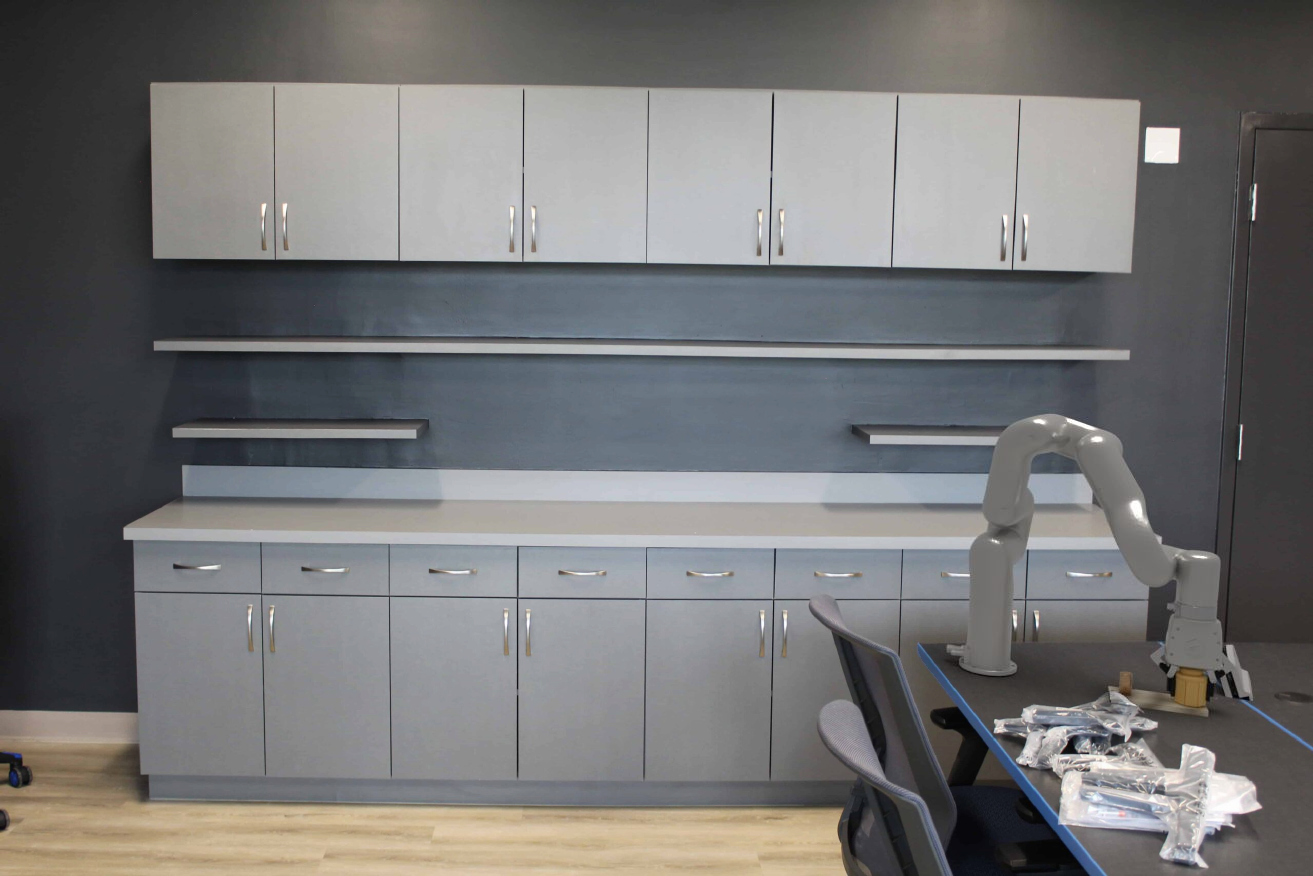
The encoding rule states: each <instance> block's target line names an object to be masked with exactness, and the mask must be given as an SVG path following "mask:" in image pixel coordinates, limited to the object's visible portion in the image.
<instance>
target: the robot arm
mask: <svg viewBox="0 0 1313 876" xmlns="http://www.w3.org/2000/svg"><path fill="white" fill-rule="evenodd" d="M1049 453H1054V454H1057V455H1060V456H1063V457H1066V458H1069V459H1071V460H1074V461H1076V463H1077V465H1078V467H1079V469H1080V471H1081V473H1082V474H1083V476H1084V478H1085V480H1086V482H1087V484H1088V485H1089V487H1090V489H1091V490H1092V492H1093V494H1094V497H1096V500H1097V501H1098V503H1099V505H1100V508H1101V509H1102V510H1103V513H1104V516H1105V519H1106V522H1107V524H1108V527H1109V528H1110V532H1111V533H1112V535H1113V538H1114V542H1115V543H1116V545H1117V547H1118V549H1119V552H1120V553H1121V555H1122V557H1123V559H1124V561H1125V563H1126V564H1127V566H1128V568H1129V569H1130V571H1131V572H1132V575H1133V576H1134V578H1135V579H1136V580H1137V581H1138V582H1139V583H1140V584H1143V585H1144V586H1147V587H1149V588H1159V587H1163V586H1165V585H1167V584H1168V583H1169V582H1170V581H1172V580H1175V581H1176V591H1175V593H1176V594H1175V600H1174V601H1173V602H1170V603H1169V602H1167V607H1166V609H1167V610H1169V611H1171V612H1172V611H1173V613H1171V615H1170V617H1169V621H1168V625H1167V628H1166V629H1167V630H1166V636H1165V643H1164V644H1163V645H1161V646H1160V647H1159V648H1158V649H1157V650H1155V651H1154V652H1152V653H1151V654H1150V659H1151V660H1152V662H1154V663H1155V664H1156V666H1158V667H1159V668H1160V669H1161V670H1162V672H1163V673H1164V674H1165V675H1166V689H1165V691H1167V692H1169V693H1168V694H1170V696H1171V697H1174V696H1175V688H1176V679H1175V672H1176V670H1177V669H1179V667H1186V668H1194V669H1202V670H1204V671H1205V672H1206V674H1207V675H1208V678H1207V690H1206V703H1207V702H1208V703H1209V702H1211V698H1214V694H1215V684H1216V683H1217V681H1218V680H1221V679H1220V678H1222V677H1223V676H1224V675H1225V674H1227V673H1229V672H1230V671H1232V670H1233V669H1234V668H1235V667H1234V665H1233V664H1232V663H1231V661H1230V660H1229V659H1228V658H1227V657H1226V656H1225V655H1224V654H1223V653H1222V647H1223V629H1222V622H1221V621H1220V620H1219V619H1218V618H1217V615H1218V614H1217V613H1218V603H1219V602H1218V600H1219V599H1218V598H1219V591H1220V588H1219V587H1220V575H1221V574H1220V573H1221V559H1220V556H1218V555H1217V553H1216V554H1215V553H1214V552H1211V551H1205V550H1198V549H1197V550H1195V549H1190V550H1189V549H1188V550H1187V549H1185V548H1184V549H1183V548H1179V547H1175V546H1171V545H1167V544H1162V543H1160V541H1159V540H1158V538H1157V536H1156V534H1155V532H1154V530H1153V528H1152V526H1151V523H1150V520H1149V518H1148V514H1147V506H1146V505H1147V504H1146V498H1145V495H1144V493H1143V491H1142V489H1141V487H1140V486H1139V484H1138V482H1137V480H1136V479H1135V477H1134V475H1133V474H1132V471H1131V470H1130V469H1129V466H1128V465H1127V463H1126V461H1125V458H1124V457H1123V454H1124V447H1123V444H1122V441H1121V439H1120V438H1119V437H1118V436H1117V435H1115V434H1114V433H1113V432H1110V431H1108V430H1105V429H1101V428H1098V427H1096V426H1093V425H1089V424H1086V423H1084V422H1081V421H1078V420H1075V419H1073V418H1070V417H1066V416H1065V415H1060V414H1056V413H1045V414H1038V415H1033V416H1029V417H1027V418H1024V419H1020V420H1017V421H1016V422H1013V423H1011V424H1010V425H1008V426H1007V427H1006V428H1005V429H1004V430H1003V431H1002V433H1000V435H999V437H998V438H997V441H996V443H995V446H994V450H993V455H992V457H991V458H992V460H991V464H990V469H989V472H988V477H987V482H986V487H985V492H984V495H983V499H982V504H981V505H982V506H981V507H982V509H981V510H982V513H983V516H984V518H985V520H986V521H987V524H988V525H987V529H986V531H984V532H983V533H981V534H980V535H978V536H977V537H976V538H975V539H974V540H973V542H972V544H971V545H970V548H969V552H968V568H969V569H968V570H969V594H968V595H969V596H968V598H969V599H968V600H969V601H968V620H967V636H966V637H967V639H966V642H965V644H961V646H958V645H954V644H946V653H947V654H950V655H951V656H955V657H960V658H959V661H958V664H959V666H960V667H961V668H962V669H964V670H966V671H968V672H971V673H975V674H978V675H979V674H980V675H982V676H983V675H984V676H993V677H1002V676H1010V675H1013V674H1015V673H1016V672H1017V671H1018V670H1017V669H1018V665H1017V663H1016V662H1014V661H1012V660H1011V652H1012V651H1011V649H1012V630H1013V618H1014V617H1013V614H1014V590H1015V587H1014V583H1015V582H1014V566H1015V565H1016V564H1017V563H1019V562H1020V561H1021V560H1022V558H1023V557H1024V555H1025V553H1026V550H1027V546H1028V542H1029V537H1030V532H1031V527H1032V523H1033V519H1034V518H1033V517H1034V512H1035V499H1034V495H1033V493H1032V491H1031V489H1030V488H1029V487H1028V485H1029V482H1030V481H1029V480H1030V476H1031V470H1032V461H1033V459H1034V458H1035V457H1036V456H1038V455H1042V454H1049ZM1163 656H1164V657H1165V661H1166V662H1167V664H1166V662H1165V661H1163V660H1162V657H1163ZM1222 662H1223V663H1224V666H1223V667H1221V665H1222Z"/></svg>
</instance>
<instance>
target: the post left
mask: <svg viewBox="0 0 1313 876" xmlns="http://www.w3.org/2000/svg"><path fill="white" fill-rule="evenodd" d="M1133 676H1134V674H1133V672H1130V671H1126V670H1125V671H1124V670H1123V671H1120V672H1119V683H1118V685H1119V686H1118V687H1119V693H1121V694H1122V695H1124V696H1131V693H1132V689H1133V678H1134V677H1133Z"/></svg>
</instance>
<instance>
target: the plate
mask: <svg viewBox="0 0 1313 876" xmlns="http://www.w3.org/2000/svg"><path fill="white" fill-rule="evenodd" d="M1107 690H1108V691H1111V690H1114V691H1117V692H1119V686H1111V685H1108V687H1107ZM1108 691H1107V692H1108ZM1125 697H1126V698H1127V699H1128V700H1130V701H1131V702H1132V703H1135V704H1137V705H1138V706H1140V707H1139V708H1143V709H1149V710H1157V711H1163V712H1170V713H1171V712H1173V713H1178V714H1179V713H1180V714H1183V715H1184V714H1186V715H1191V716H1198V717H1199V716H1200V717H1209V709H1208V707H1207V704H1206V705H1205V706H1201V707H1193V706H1186V705H1182V704H1180V703H1177V702H1174V700H1173V697H1171V696H1170V693H1164V692H1157V691H1149V690H1141V689H1133V688H1132V693H1131V696H1125Z"/></svg>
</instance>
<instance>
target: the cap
mask: <svg viewBox="0 0 1313 876" xmlns="http://www.w3.org/2000/svg"><path fill="white" fill-rule="evenodd" d="M1204 671H1205V670H1202V669H1194V668H1186V667H1178V668H1177V670H1176V672H1175V679H1176V688H1175V696H1174V697H1173V700H1174V702H1177V703H1180V704H1182V705H1186V706H1193V707H1201V706H1205V705H1206V706H1207V701H1206V690H1207V678H1208V675H1207V672H1206V673H1205V672H1204Z"/></svg>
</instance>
